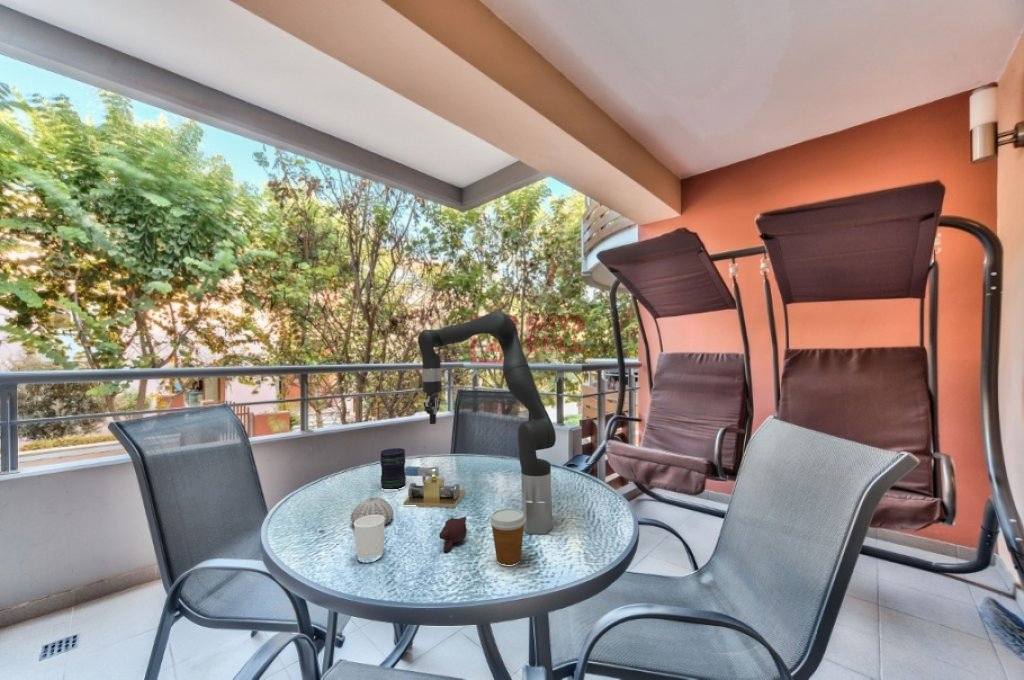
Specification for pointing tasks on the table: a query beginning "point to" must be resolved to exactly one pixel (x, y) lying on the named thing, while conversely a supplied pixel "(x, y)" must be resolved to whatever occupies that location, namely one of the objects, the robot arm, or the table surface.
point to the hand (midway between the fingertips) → (433, 423)
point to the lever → (421, 471)
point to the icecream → (453, 532)
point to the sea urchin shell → (373, 509)
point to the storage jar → (393, 468)
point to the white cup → (369, 536)
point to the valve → (434, 493)
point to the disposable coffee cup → (508, 534)
